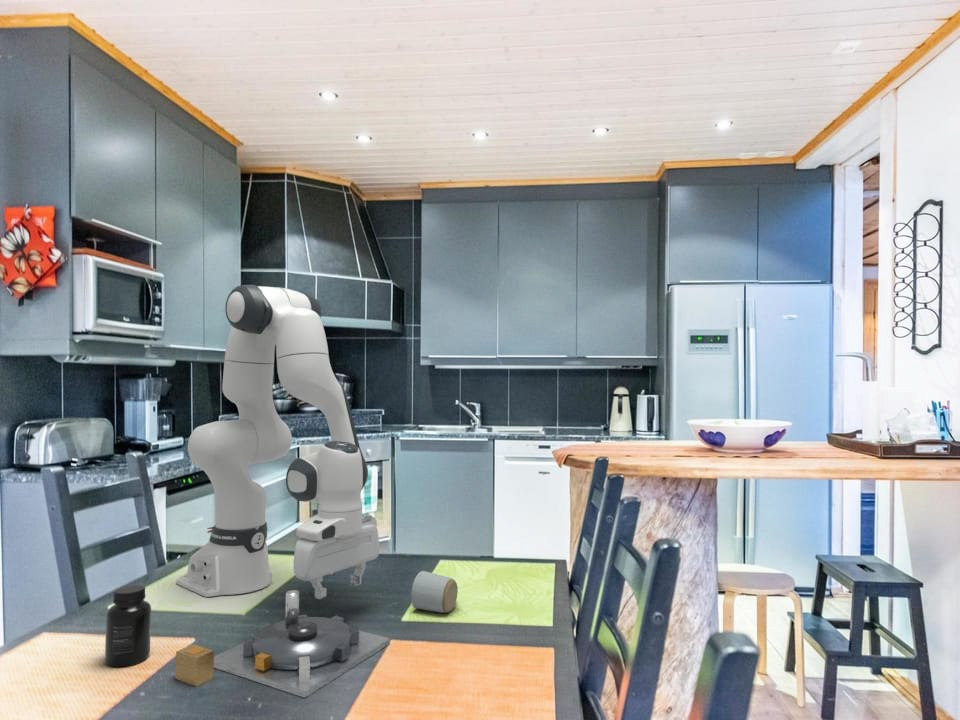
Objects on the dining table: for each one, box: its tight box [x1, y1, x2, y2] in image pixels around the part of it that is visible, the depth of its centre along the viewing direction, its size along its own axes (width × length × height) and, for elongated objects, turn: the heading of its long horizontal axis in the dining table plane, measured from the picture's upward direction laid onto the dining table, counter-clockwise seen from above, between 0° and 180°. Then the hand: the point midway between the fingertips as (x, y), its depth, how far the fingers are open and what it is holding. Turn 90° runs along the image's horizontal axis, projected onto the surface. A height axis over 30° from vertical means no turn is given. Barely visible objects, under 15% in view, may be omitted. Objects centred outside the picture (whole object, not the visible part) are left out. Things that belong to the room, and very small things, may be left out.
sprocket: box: [243, 589, 360, 673], centre depth 109 cm, size 20×20×8 cm
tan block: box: [175, 643, 215, 688], centre depth 100 cm, size 5×3×5 cm, turn 62°
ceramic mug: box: [410, 570, 459, 614], centre depth 132 cm, size 11×8×8 cm
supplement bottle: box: [104, 584, 152, 668], centre depth 106 cm, size 7×7×12 cm
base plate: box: [214, 630, 391, 699], centre depth 109 cm, size 22×22×4 cm
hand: (338, 591), depth 124 cm, fingers open, 8 cm apart
